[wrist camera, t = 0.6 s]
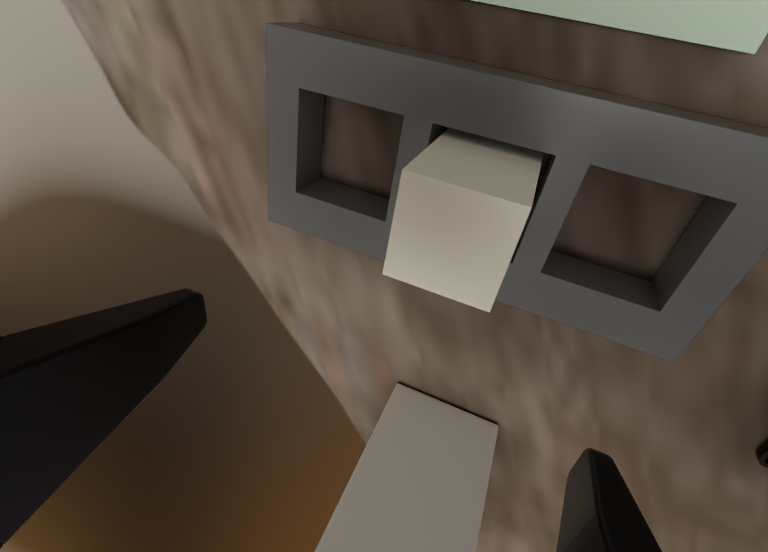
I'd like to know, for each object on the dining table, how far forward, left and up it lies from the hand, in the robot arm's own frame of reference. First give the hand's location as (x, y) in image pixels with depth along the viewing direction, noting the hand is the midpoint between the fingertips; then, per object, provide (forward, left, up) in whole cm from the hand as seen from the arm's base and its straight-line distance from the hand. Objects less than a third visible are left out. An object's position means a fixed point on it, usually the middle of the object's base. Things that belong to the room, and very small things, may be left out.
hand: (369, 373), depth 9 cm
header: (0, 0, -13) cm, 13 cm away
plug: (0, 0, -13) cm, 13 cm away
